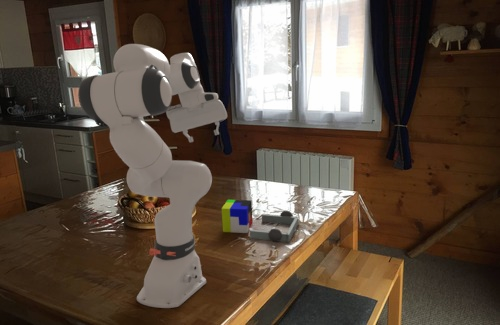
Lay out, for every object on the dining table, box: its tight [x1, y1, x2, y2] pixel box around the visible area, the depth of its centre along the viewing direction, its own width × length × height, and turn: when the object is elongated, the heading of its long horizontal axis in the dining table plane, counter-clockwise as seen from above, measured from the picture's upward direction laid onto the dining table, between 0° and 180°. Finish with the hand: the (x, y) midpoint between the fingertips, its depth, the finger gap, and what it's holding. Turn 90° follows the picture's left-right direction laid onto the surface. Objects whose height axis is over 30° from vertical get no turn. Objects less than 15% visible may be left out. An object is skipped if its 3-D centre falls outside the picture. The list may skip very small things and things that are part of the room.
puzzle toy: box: [221, 199, 253, 234], centre depth 172 cm, size 10×10×10 cm
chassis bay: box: [249, 210, 300, 243], centre depth 167 cm, size 19×15×5 cm
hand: (204, 138), depth 151 cm, fingers open, 8 cm apart
